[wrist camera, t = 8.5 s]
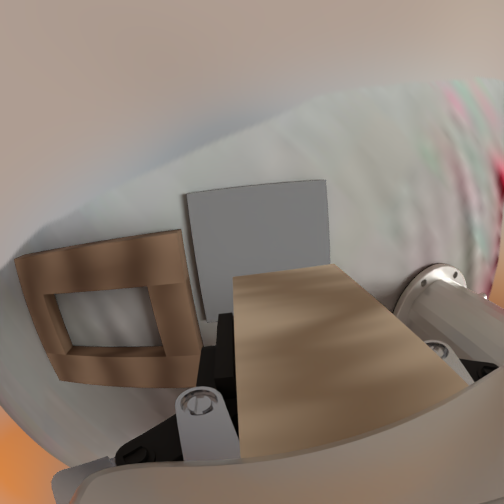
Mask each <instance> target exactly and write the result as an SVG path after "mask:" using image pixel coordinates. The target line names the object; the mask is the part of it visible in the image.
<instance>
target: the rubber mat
mask: <svg viewBox="0 0 504 504" xmlns="http://www.w3.org/2000/svg"><path fill="white" fill-rule="evenodd" d="M187 202H188V210H189V217H190V224H191V231H192V238H193V245H194V251H195V258H196V264H197V270H198V276H199V282H200V287H201V293H202V298H203V304H204V309H205V314H206V319H207V323H208V322H218V314H222V313H231V312H232V314H233V316H234V308H233V277H236V276H244V275H252V274H260V273H268V272H276V271H284V270H292V269H299V268H307V267H314V266H321V265H328V264H330V239H329V218H328V202H327V189H326V180H314V181H299V182H286V183H274V184H263V185H253V186H244V187H235V188H226V189H218V190H210V191H203V192H196V193H189V194H187Z"/></svg>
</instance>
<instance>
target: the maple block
mask: <svg viewBox="0 0 504 504" xmlns="http://www.w3.org/2000/svg"><path fill="white" fill-rule="evenodd" d="M233 308H234V338H235V364H236V386H237V407H238V425H239V442H240V458H249V457H258V456H266V455H273V454H280V453H286V452H291V451H297V450H302V449H307V448H311V447H316V446H320V445H324V444H328V443H332V442H336V441H339V440H343V439H347V438H350V437H353V436H357V435H360V434H363V433H366V432H369V431H372V430H375V429H378V428H380V427H383V426H386V425H389V424H391V423H394V422H396V421H399V420H401V419H404V418H406V417H408V416H411V415H413V414H415V413H417V412H420V411H422V410H424V409H426V408H428V407H430V406H432V405H434V404H436V403H438V402H440V401H442V400H444V399H446V398H448V397H450V396H452V395H454V394H455V393H457V392H459V391H461V390H463V389H464V388H466V387H468V386H469V385H468V384H467V383H466V382H465V381H464V380H463V379H462V378H461V377H460V376H459V375H458V374H457V373H456V372H455V371H454V370H453V369H452V368H451V367H450V366H449V365H448V364H447V363H446V362H445V361H443V360H442V359H441V358H440V357H439V356H438V355H437V354H436V353H435V352H434V351H433V350H432V349H431V348H430V347H429V346H428V345H426V344H425V343H424V342H423V341H422V340H421V339H420V338H419V337H418V336H417V335H416V334H415V333H413V332H412V331H411V330H410V329H409V328H408V327H407V326H406V325H405V324H403V323H402V322H401V321H400V320H399V319H398V318H397V317H396V316H395V315H393V314H392V313H391V312H390V311H389V310H388V309H387V308H385V307H384V306H383V305H382V304H381V303H380V302H379V301H377V300H376V299H375V298H374V297H373V296H372V295H370V294H369V293H368V292H367V291H366V290H365V289H363V288H362V287H361V286H360V285H359V284H358V283H356V282H355V281H354V280H353V279H352V278H350V277H349V276H348V275H347V274H346V273H344V272H343V271H342V270H341V269H340V268H338V267H337V266H336V265H335V264H328V265H321V266H314V267H307V268H299V269H292V270H284V271H276V272H268V273H260V274H252V275H244V276H236V277H233Z"/></svg>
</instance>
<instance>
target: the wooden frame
mask: <svg viewBox="0 0 504 504" xmlns="http://www.w3.org/2000/svg"><path fill="white" fill-rule="evenodd" d="M14 261H15V265H16V269H17V273H18V277H19V280H20V284H21V287H22V291H23V294H24V297H25V300H26V303H27V306H28V309H29V312H30V315H31V317H32V320H33V323H34V325H35V328H36V330H37V333H38V335H39V338H40V340H41V342H42V345H43V347H44V349H45V351H46V354H47V356H48V358H49V360H50V362H51V364H52V366H53V368H54V370H55V372H56V374H57V376H58V378H59V380H61V381H68V382H75V383H83V384H92V385H103V386H117V387H137V388H189V387H196V383H197V375H198V369H199V362H200V355H201V349H202V347H203V343H202V338H201V334H200V329H199V325H198V320H197V315H196V310H195V305H194V300H193V295H192V290H191V285H190V279H189V274H188V268H187V262H186V256H185V250H184V244H183V238H182V231H181V229H178V230H171V231H163V232H156V233H150V234H143V235H136V236H129V237H123V238H117V239H110V240H104V241H98V242H92V243H86V244H80V245H74V246H69V247H63V248H57V249H52V250H47V251H41V252H36V253H31V254H26V255H23V256H20V257H18V258H16V259H14ZM144 286H147V288H148V292H149V296H150V300H151V304H152V308H153V312H154V316H155V320H156V323H157V327H158V330H159V334H160V337H161V341H162V344H163V346H154V347H84V346H73V345H72V342H71V340H70V337H69V335H68V332H67V330H66V327H65V324H64V322H63V319H62V316H61V313H60V310H59V307H58V304H57V301H56V298H55V295H54V294H59V293H73V292H86V291H99V290H110V289H122V288H133V287H144Z"/></svg>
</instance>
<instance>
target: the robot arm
mask: <svg viewBox="0 0 504 504" xmlns="http://www.w3.org/2000/svg"><path fill="white" fill-rule="evenodd" d="M393 315H395V316H396V317H397V318H398V319H399V320H400V321H401V322H402V323H403V324H405V325H406V326H407V327H408V328H409V329H410V330H411V331H412V332H413V333H415V334H416V335H417V336H418V337H419V338H420V339H421V340H422V341H423V342H424V343H425V344H426V345H428V346H429V347H430V348H431V349H432V350H433V351H434V352H435V353H436V354H437V355H438V356H439V357H440V358H441V359H442V360H443V361H445V362H446V363H447V364H448V365H449V366H450V367H451V368H452V369H453V370H454V371H455V372H456V373H457V374H458V375H459V376H460V377H461V378H462V379H463V380H464V381H465V382H466V383H467V384H468V385H469V386H468V387H466V388H464V389H463V390H461V391H459V392H457V393H455V394H454V395H452V396H450V397H448V398H446V399H444V400H442V401H440V402H438V403H436V404H434V405H432V406H430V407H428V408H426V409H424V410H422V411H420V412H417V413H415V414H413V415H411V416H408V417H406V418H404V419H401V420H399V421H396V422H394V423H391V424H389V425H386V426H383V427H380V428H378V429H375V430H372V431H369V432H366V433H363V434H360V435H357V436H353V437H350V438H347V439H343V440H339V441H336V442H332V443H328V444H324V445H320V446H316V447H311V448H307V449H302V450H297V451H291V452H286V453H280V454H273V455H266V456H258V457H249V458H240V442H239V425H238V407H237V386H236V364H235V338H234V316H233V314H232V312H231V313H222V314H218V326H217V340H216V346H206V347H202V349H201V355H200V362H199V369H198V375H197V383H196V387H194V388H191V389H188V390H186V391H184V392H182V393H181V394H180V395H179V396H178V398H177V400H176V401H175V410H176V414H175V415H173V416H172V417H170V418H168V419H167V420H165V421H164V422H162V423H160V424H159V425H157V426H155V427H154V428H152V429H150V430H149V431H147V432H145V433H143V434H142V435H140V436H138V437H136V438H135V439H133V440H131V441H129V442H128V443H126V444H124V445H123V446H122V447H120V449H119V450H118V451H117V453H116V456H115V457H114V458H111V459H110V458H109V457H108V456H106V457H103V458H100V459H97V460H94V461H91V462H88V463H85V464H82V465H78V466H75V467H71V468H68V469H64V470H61V471H59V472H57V473H56V474H55V475H54V476H53V479H52V490H53V494H54V497H55V500H56V504H504V309H503V308H501V307H499V306H498V305H496V304H494V303H492V302H490V301H489V300H487V299H486V294H485V293H480V294H477V293H475V292H473V291H471V290H469V289H468V288H467V286H466V282H465V279H464V276H463V274H462V273H461V272H460V271H459V270H458V269H457V268H455V267H453V266H451V265H448V264H441V263H440V264H436V265H433V266H430V267H428V268H426V269H425V270H423V271H422V272H421V273H419V274H418V275H417V276H416V277H415V278H414V279H413V280H412V281H411V282H410V284H409V285H408V286H407V287H406V289H405V290H404V292H403V294H402V295H401V297H400V298H399V301H398V303H397V305H396V307H395V310H394V313H393Z"/></svg>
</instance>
